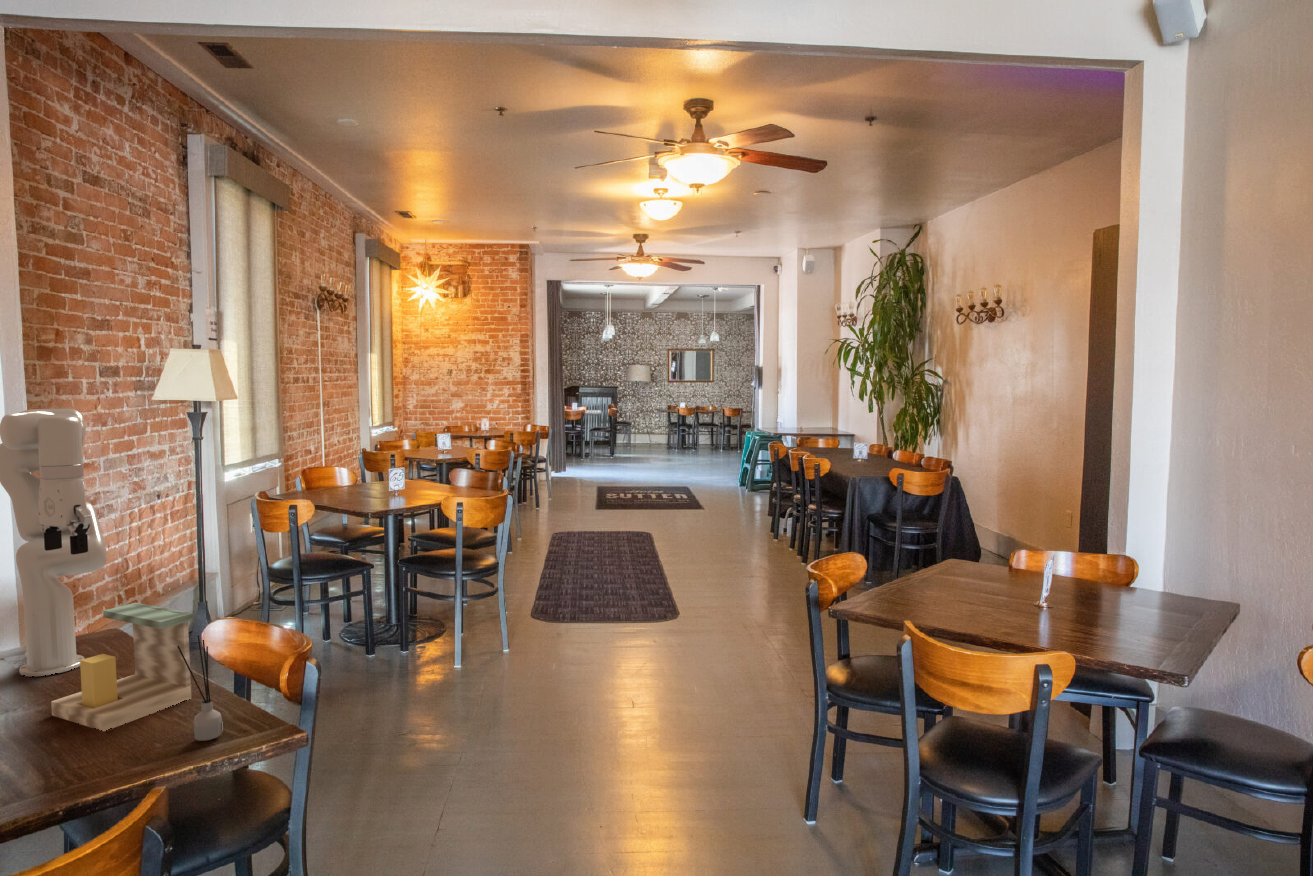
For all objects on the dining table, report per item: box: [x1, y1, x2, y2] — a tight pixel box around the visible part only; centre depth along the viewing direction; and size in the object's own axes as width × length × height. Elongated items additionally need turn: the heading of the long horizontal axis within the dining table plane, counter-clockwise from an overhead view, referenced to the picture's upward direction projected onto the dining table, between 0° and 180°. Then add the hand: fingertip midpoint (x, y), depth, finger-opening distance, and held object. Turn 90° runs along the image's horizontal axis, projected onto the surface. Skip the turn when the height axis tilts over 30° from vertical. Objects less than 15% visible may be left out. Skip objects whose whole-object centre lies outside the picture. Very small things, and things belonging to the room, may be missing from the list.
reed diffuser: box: [177, 634, 224, 742], centre depth 153 cm, size 10×7×20 cm
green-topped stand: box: [50, 602, 194, 732], centre depth 169 cm, size 20×18×19 cm
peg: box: [79, 653, 118, 709], centre depth 165 cm, size 4×4×12 cm
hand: (66, 551), depth 173 cm, fingers open, 9 cm apart
